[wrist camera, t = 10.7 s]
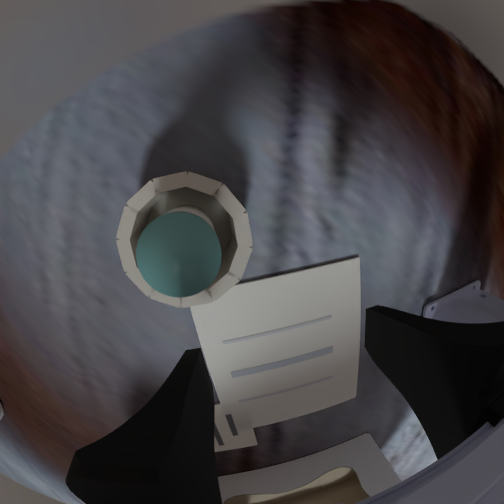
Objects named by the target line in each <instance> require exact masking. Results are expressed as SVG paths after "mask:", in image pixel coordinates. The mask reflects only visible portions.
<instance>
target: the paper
mask: <svg viewBox="0 0 504 504" xmlns="http://www.w3.org/2000/svg"><path fill="white" fill-rule="evenodd" d="M190 308H191V312H192V316H193V319H194V323H195V326H196V330H197V333H198V336H199V340H200V343H201V346H202V350H203V353H204V356H205V359H206V362H207V366H208V369H209V372H210V375H211V378H212V381H213V384H214V387H215V390H216V392H217V395H218V398H219V401H220V404H221V407H222V409H223V412H224V415H228V414H231V415H232V418H233V421H234V424H235V427H237V428H236V430H237V431H240V430H246V429H251V428H256V427H260V426H265V425H269V424H273V423H277V422H281V421H285V420H289V419H293V418H296V417H300V416H303V415H306V414H310V413H313V412H316V411H319V410H322V409H325V408H328V407H331V406H334V405H337V404H340V403H343V402H345V401H348V400H351V399H353V398H356V392H357V380H358V367H359V350H360V320H361V288H360V258H359V257H356V258H351V259H347V260H343V261H339V262H335V263H330V264H326V265H322V266H317V267H313V268H309V269H304V270H300V271H295V272H291V273H286V274H282V275H277V276H272V277H268V278H263V279H258V280H254V281H249V282H244V283H239V284H236V285H234V286H233V287H232V288H231V289H230V290H228V291H227V292H226V293H225V294H224V295H222V296H221V297H220V298H219V299H218V300H216V301H214V300H213V302H212V303H207V304H202V305H197V306H191V307H190ZM232 403H233V404H232ZM228 405H229V406H228ZM237 413H238V414H237ZM240 415H241V416H240ZM225 417H226V416H225ZM238 418H239V419H238ZM249 418H250V419H249ZM235 419H236V420H235ZM226 420H227V419H226ZM245 420H246V421H245ZM248 421H249V422H248ZM246 422H247V423H246ZM227 423H228V421H227ZM243 423H244V424H243ZM228 425H229V424H228ZM239 425H240V426H239ZM229 428H230V427H229ZM230 431H231V429H230Z"/></svg>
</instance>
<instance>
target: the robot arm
mask: <svg viewBox="0 0 504 504" xmlns="http://www.w3.org/2000/svg"><path fill="white" fill-rule="evenodd" d="M480 285H481V282H480V281H479V280H476V281H474V282H472V283H471V284H469V285H467V286H465V287H463V288H461V289H459V290H456V291H454V292H452V293H450V294H448V295H446V296H444V297H442V298H439V299H437V300H435V301H433V302H431V303H428V304H427V305H426V306H425V307H424V310H423V317H422V316H418V315H414V314H410V313H407V312H403V311H399V310H396V309H392V308H388V307H384V306H378V305H377V306H374V307H371V308H368V309H366V325H365V346H364V347H365V348H366V350H367V352H368V353H369V355H370V357H371V358H372V360H373V361H374V363H375V364H376V365H377V366H378V367H379V368H380V370H381V371H382V372H383V373H384V374H385V375H386V377H387V378H388V379H389V380H390V381H391V382H392V383H393V384H394V386H395V387H396V388H397V389H398V390H399V391H400V392H401V394H402V395H403V396H404V398H405V399H406V400H407V402H408V403H409V405H410V406H411V408H412V410H413V411H414V413H415V414H416V416H417V418H418V419H419V421H420V423H421V425H422V426H423V428H424V430H425V432H426V434H427V436H428V438H429V440H430V442H431V445H432V447H433V449H434V452H435V454H436V457H437V459H438V460H437V461H436V462H434V463H433V464H431V465H429V466H428V467H426V468H425V469H423V470H421V471H420V472H418V473H416V474H415V475H413V476H411V477H409V478H408V479H406V480H404V481H402V482H400V483H398V484H396V485H394V486H393V487H391V488H389V489H386V490H384V491H382V492H380V493H378V494H376V495H374V496H371V497H369V498H367V499H365V500H362V501H360V502H357V503H355V504H504V300H502V299H500V298H497V297H495V296H493V295H491V294H489V293H487V292H485V291H483V290H481V289H480ZM214 422H215V404H214V395H213V387H212V383H211V380H210V377H209V374H208V370H207V367H206V364H205V361H204V358H203V354H202V351H201V348H197V349H191V350H186V351H185V352H184V354H183V355H182V357H181V359H180V360H179V362H178V363H177V365H176V366H175V368H174V369H173V371H172V372H171V374H170V375H169V377H168V378H167V380H166V381H165V382H164V384H163V385H162V386H161V388H160V389H159V390H158V391H157V393H156V394H155V395H154V396H153V397H152V399H151V400H150V401H149V402H148V403H147V404H146V405H145V406H144V407H143V408H142V409H141V410H140V411H139V412H137V413H136V414H135V415H134V416H133V417H131V418H130V419H129V420H128V421H127V422H125V423H124V424H123V425H121V426H120V427H119V428H117V429H116V430H114V431H113V432H111V433H110V434H108V435H106V436H105V437H103V438H101V439H99V440H98V441H96V442H94V443H92V444H90V445H87V446H85V447H83V448H81V449H79V450H76V452H75V454H74V457H73V460H72V462H71V465H70V468H69V471H68V474H67V477H66V484H67V486H68V487H69V489H70V491H71V492H73V493H74V494H75V495H76V496H77V497H78V498H79V499H81V500H82V501H83V502H84V503H86V504H223V503H222V498H221V493H220V488H219V482H218V475H217V468H216V461H215V450H214Z"/></svg>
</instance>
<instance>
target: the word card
mask: <svg viewBox="0 0 504 504" xmlns="http://www.w3.org/2000/svg"><path fill="white" fill-rule="evenodd" d="M232 404H233V403H232ZM228 406H229V405H228ZM237 414H238V413H237ZM225 416H226V417H225ZM240 416H241V415H240ZM226 419H227V420H226ZM238 419H239V418H238ZM249 419H250V418H249ZM235 420H236V419H235ZM227 421H228V423H227ZM245 421H246V420H245ZM248 422H249V421H248ZM246 423H247V422H246ZM228 424H229V425H228ZM243 424H244V423H243ZM239 426H240V425H239ZM229 427H230V428H229ZM236 428H237V427H235V424H234V421H233V418H232V415H231V414H228V415H224V412H223V409H222V407H221V404H220V403H217V404H215V422H214V450H215V452H220V451H226V450H233V449H239V448H244V447H250V446H255V445H258V443H257V440H256V437H255V433H254V430H253V428H251V429H246V430H240V431H237V430H236ZM230 429H231V431H230Z"/></svg>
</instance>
